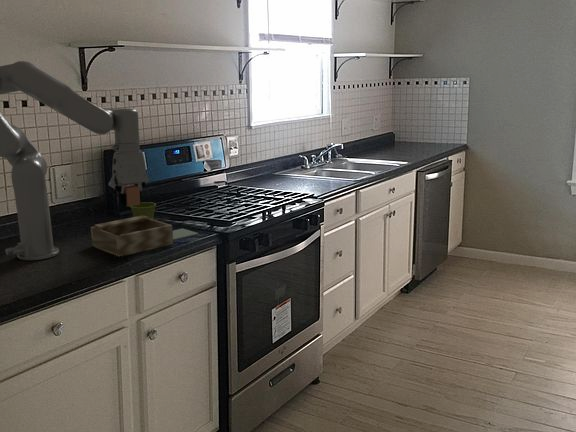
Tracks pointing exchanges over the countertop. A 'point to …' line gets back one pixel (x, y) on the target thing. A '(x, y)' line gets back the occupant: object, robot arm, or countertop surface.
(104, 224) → the crate
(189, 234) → the mat
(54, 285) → the countertop surface
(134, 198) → the block
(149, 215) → the plant pot
